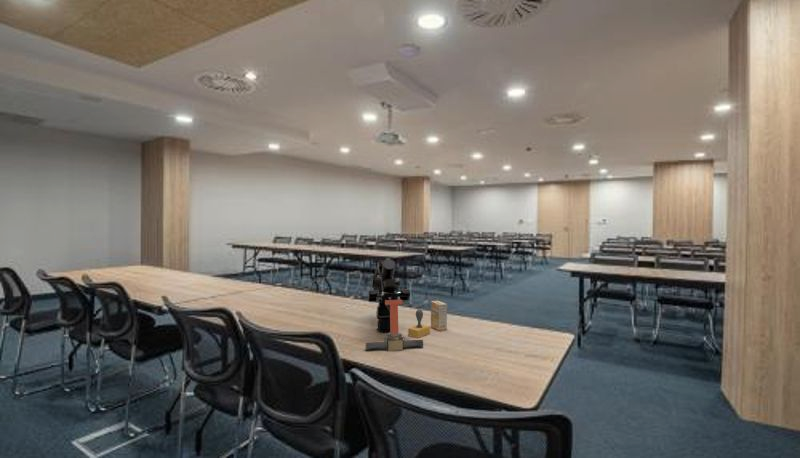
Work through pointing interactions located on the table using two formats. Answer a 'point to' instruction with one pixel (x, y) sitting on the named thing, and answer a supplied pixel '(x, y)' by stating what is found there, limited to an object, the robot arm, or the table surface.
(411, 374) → the table surface
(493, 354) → the table surface
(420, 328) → the rubber stamp
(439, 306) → the supplement box
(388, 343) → the pipe valve
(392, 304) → the lever
